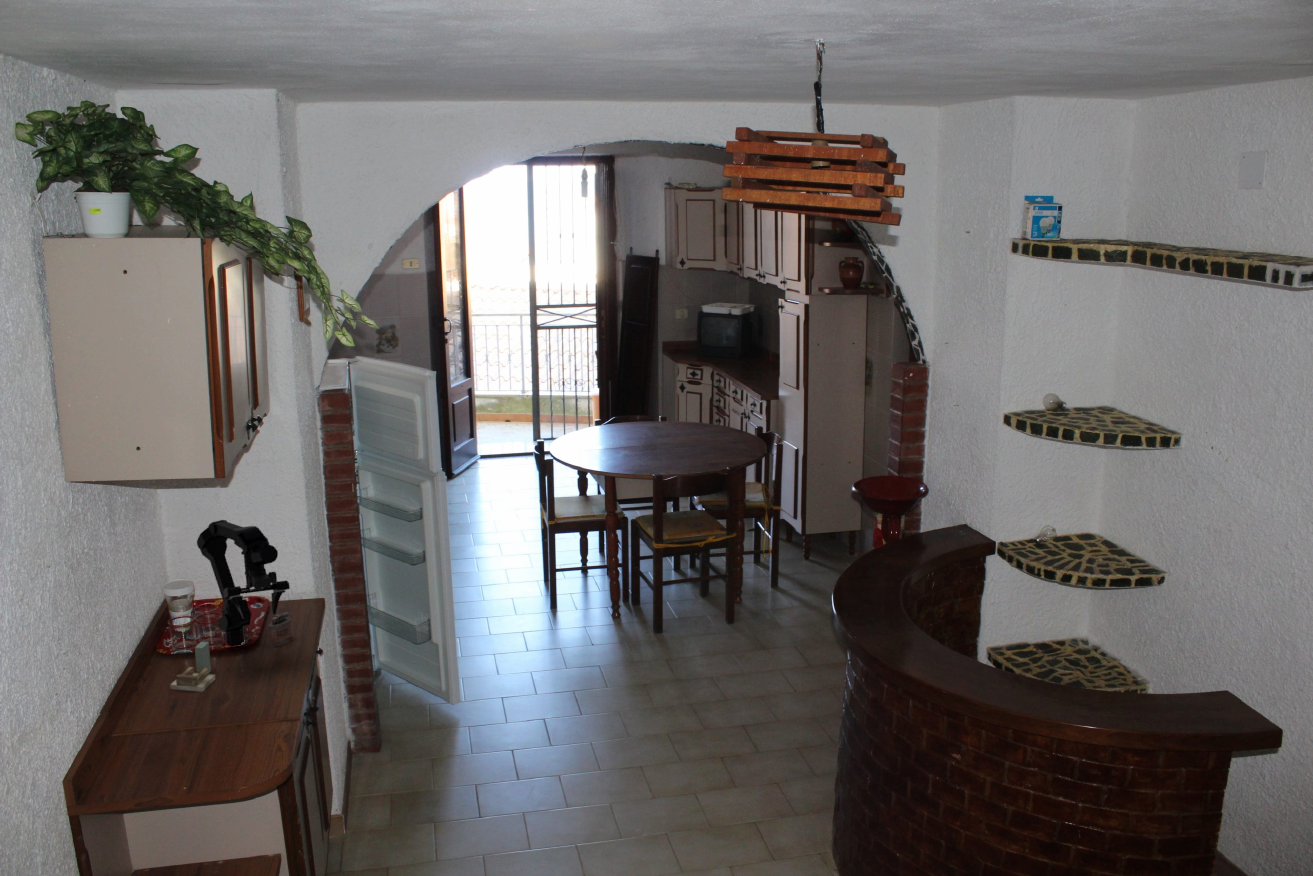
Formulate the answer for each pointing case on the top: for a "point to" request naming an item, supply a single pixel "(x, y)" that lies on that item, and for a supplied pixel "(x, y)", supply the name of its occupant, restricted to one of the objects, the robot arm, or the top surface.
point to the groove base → (193, 680)
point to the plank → (202, 656)
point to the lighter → (280, 630)
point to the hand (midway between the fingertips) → (259, 616)
